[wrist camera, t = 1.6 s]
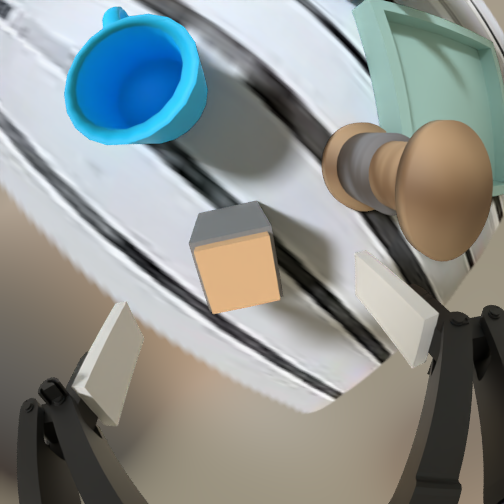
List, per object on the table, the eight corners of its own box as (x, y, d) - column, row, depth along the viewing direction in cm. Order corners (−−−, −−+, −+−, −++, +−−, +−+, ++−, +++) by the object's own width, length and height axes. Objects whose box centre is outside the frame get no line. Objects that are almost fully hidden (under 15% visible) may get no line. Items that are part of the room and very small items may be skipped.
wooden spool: (314, 126, 21) (399, 117, 9) (391, 121, 21) (490, 124, 10) (327, 215, 24) (403, 276, 13) (398, 202, 24) (487, 245, 13)
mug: (222, 119, 20) (222, 104, 12) (132, 160, 20) (89, 171, 13) (175, 9, 15) (156, -39, 8) (92, 51, 15) (45, 25, 8)
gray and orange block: (198, 213, 23) (187, 248, 15) (256, 200, 23) (273, 229, 15) (212, 265, 24) (209, 318, 17) (267, 254, 25) (285, 302, 17)
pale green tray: (351, 10, 16) (368, -3, 13) (474, 44, 16) (492, 42, 13) (386, 204, 24) (407, 213, 21) (493, 186, 24) (511, 192, 21)
